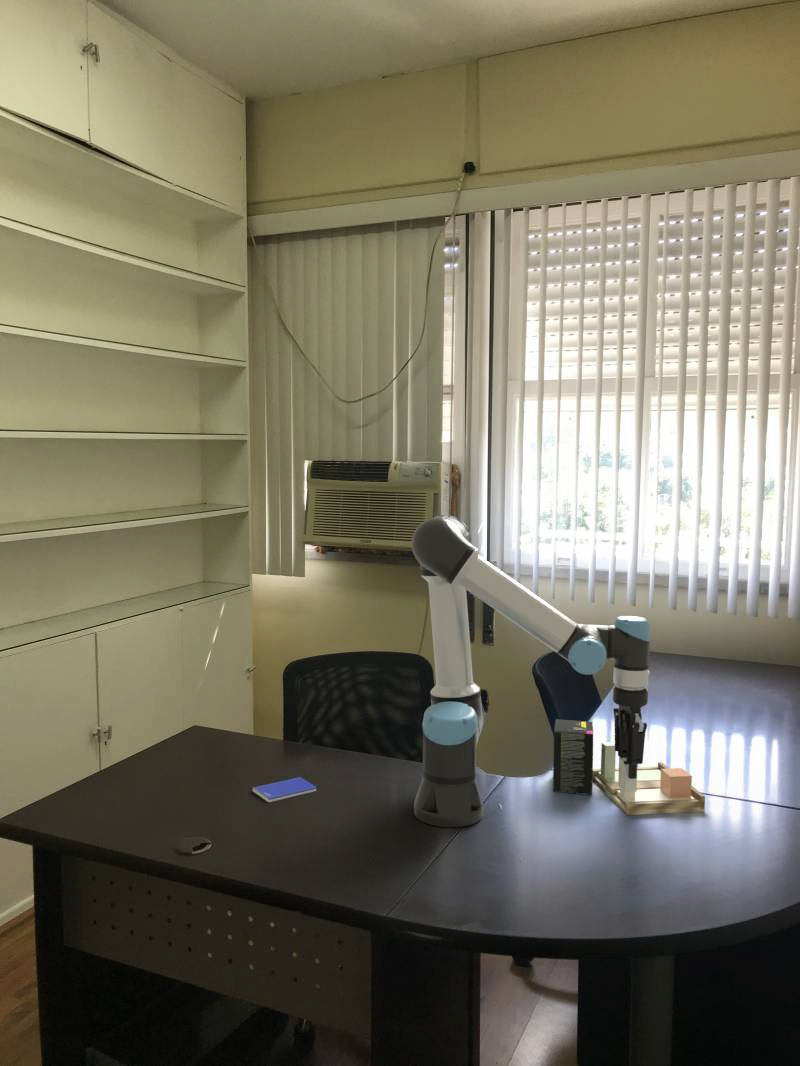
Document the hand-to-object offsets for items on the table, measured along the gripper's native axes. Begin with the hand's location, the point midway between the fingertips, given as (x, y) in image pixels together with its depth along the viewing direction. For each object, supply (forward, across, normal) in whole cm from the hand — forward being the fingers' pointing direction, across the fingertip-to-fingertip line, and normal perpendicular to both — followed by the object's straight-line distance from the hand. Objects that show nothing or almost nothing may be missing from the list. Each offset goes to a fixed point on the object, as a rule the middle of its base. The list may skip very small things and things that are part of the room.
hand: (627, 788), depth 193 cm
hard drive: (+5, +17, +76) cm, 79 cm away
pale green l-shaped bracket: (+3, +12, -7) cm, 14 cm away
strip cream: (+3, 0, -7) cm, 7 cm away
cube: (+2, 0, -12) cm, 12 cm away
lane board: (+4, +6, -7) cm, 10 cm away
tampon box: (+4, +13, +8) cm, 16 cm away
